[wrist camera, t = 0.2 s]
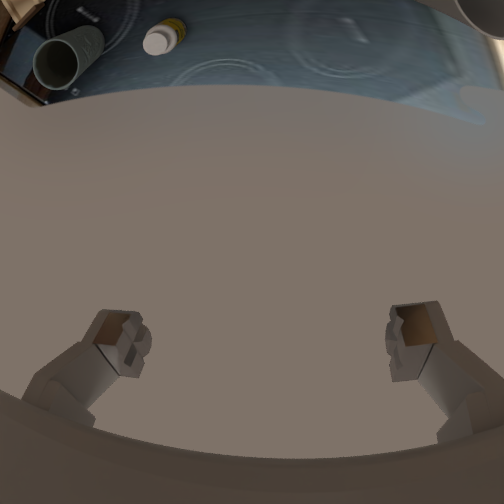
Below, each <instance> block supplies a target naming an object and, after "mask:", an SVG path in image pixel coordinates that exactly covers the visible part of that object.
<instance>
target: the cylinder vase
mask: <svg viewBox="0 0 504 504" xmlns="http://www.w3.org/2000/svg"><path fill="white" fill-rule="evenodd" d="M415 1H417V2H419V3H422V4H424V5H427V6H429V7H431V8H433V9H436V10H438V11H440V12H442V13H444V14H446V15H448V16H450V17H452V18H454V19H456V20H458V21H460V22H462V23H464V24H466V25H468V26H470V27H472V28H473V29H475V30H477V31H479V32H480V33H482V34H484V35H486V36H488V37H490V38H493V39H497V40H504V0H415Z"/></svg>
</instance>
